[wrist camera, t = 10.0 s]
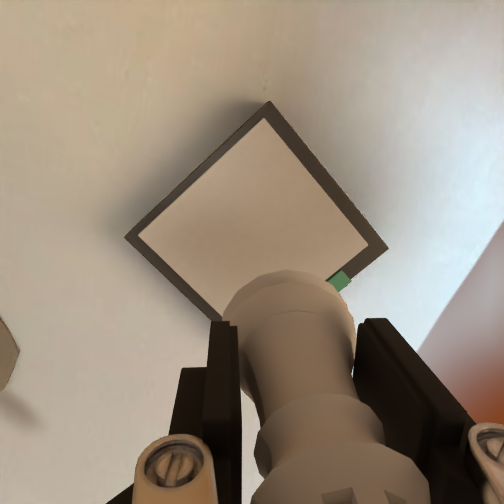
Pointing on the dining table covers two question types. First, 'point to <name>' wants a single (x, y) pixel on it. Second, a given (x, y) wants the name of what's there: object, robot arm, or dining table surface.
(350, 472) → the rook chess piece
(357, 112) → the dining table surface
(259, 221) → the scale
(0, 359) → the coffeepot
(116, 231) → the dining table surface
